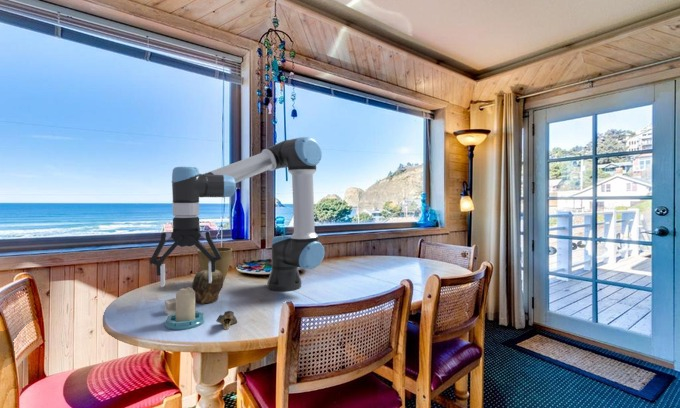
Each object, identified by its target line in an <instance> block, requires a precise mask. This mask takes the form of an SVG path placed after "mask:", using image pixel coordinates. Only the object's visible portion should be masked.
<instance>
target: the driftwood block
mask: <svg viewBox="0 0 680 408" xmlns="http://www.w3.org/2000/svg"><path fill="white" fill-rule="evenodd" d="M164 313H166V315H167V316H169V315H172V314H175V313H176V297H175V298H171V299H165V300H164Z"/></svg>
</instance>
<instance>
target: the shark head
mask: <svg viewBox="0 0 680 408" xmlns="http://www.w3.org/2000/svg"><path fill="white" fill-rule="evenodd" d="M216 322H217V323H220V324H221V325H223V329H224V330H225V331H226V330H227V331H228V330H229V329H230V328H231V327H230V326H231V325H233V324H237V323H238V320H237V317H236V316H235V315H234V311H233V310H226V311H224V314H220V315H219V316H218V317H217V319H216Z"/></svg>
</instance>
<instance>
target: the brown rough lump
mask: <svg viewBox="0 0 680 408" xmlns="http://www.w3.org/2000/svg"><path fill="white" fill-rule="evenodd" d="M223 286H224V282H223V275H222V273H221V272H220V271H219V270H215V272H212V282H211V283H209V269H208V270H202V271H201V270H200V271H198V272H197V273H196V274H195V276H194V277H193V279H192V285H191V288H192V289H193V290H194V291H195V304H212V303H215V302H216V301H218V299H219V298H220V296H219V294H220V293H221V291H222V289H223Z"/></svg>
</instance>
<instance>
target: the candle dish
mask: <svg viewBox="0 0 680 408" xmlns="http://www.w3.org/2000/svg"><path fill="white" fill-rule="evenodd" d="M204 322H205V314H204V312H201V311H197V310H195V319H193V320H190V321H181V322H176V313H175V314H172V315H167V317H166V319H165V322H164V323H165V325H164V326H165V328H166V329H169V330H173V331H182V330H183V331H184V330H190V329H193V328H194V329H195V328H197V327H199V326H201V325H203V324H204Z"/></svg>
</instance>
